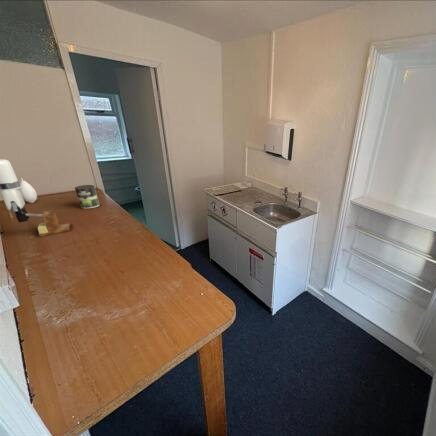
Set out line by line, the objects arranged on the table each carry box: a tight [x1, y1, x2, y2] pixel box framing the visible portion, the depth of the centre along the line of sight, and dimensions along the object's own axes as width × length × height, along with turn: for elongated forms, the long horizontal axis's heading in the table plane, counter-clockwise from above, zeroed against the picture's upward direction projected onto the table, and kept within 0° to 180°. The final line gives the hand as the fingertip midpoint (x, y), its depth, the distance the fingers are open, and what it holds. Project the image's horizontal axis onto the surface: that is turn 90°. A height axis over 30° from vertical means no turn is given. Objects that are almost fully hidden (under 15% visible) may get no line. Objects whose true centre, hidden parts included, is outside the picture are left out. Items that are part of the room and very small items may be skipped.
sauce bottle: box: [19, 177, 38, 204], centre depth 161 cm, size 8×8×18 cm
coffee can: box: [74, 184, 100, 210], centre depth 160 cm, size 10×10×14 cm
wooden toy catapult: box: [37, 209, 71, 237], centre depth 126 cm, size 12×9×11 cm
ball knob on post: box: [24, 212, 47, 218], centre depth 121 cm, size 13×3×3 cm, turn 129°
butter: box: [37, 225, 48, 234], centre depth 123 cm, size 3×4×3 cm
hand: (24, 219), depth 119 cm, fingers closed on ball knob on post, 3 cm apart
